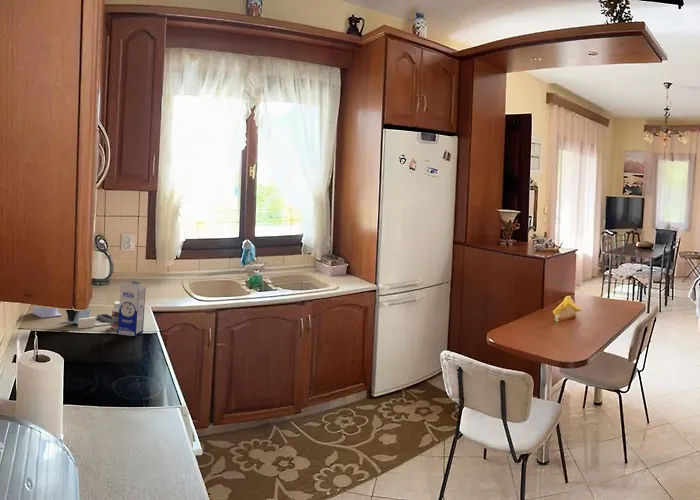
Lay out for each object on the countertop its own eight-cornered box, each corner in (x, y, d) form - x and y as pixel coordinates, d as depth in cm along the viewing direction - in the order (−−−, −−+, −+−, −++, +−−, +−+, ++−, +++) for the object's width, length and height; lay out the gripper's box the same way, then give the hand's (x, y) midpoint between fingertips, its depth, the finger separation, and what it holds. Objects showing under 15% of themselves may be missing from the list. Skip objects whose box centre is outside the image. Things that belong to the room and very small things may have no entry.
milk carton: (117, 334, 215) (120, 281, 213) (125, 330, 222) (128, 279, 220) (135, 337, 215) (138, 283, 213) (143, 332, 222) (146, 281, 220)
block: (66, 321, 222) (71, 306, 223) (76, 323, 226) (81, 308, 228) (76, 323, 220) (81, 308, 221) (86, 325, 224) (90, 310, 226)
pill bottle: (107, 327, 224) (109, 302, 223) (117, 325, 229) (119, 300, 228) (120, 330, 222) (121, 304, 221) (130, 327, 227) (131, 302, 226)
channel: (65, 321, 226) (65, 313, 225) (96, 318, 235) (96, 310, 235) (79, 328, 219) (79, 319, 218) (110, 324, 228) (111, 315, 228)
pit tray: (96, 318, 235) (97, 314, 235) (106, 317, 238) (106, 313, 238) (110, 324, 229) (110, 320, 228) (119, 323, 232) (120, 319, 232)
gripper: (57, 288, 212) (56, 325, 213) (96, 286, 223) (94, 320, 224) (49, 285, 216) (47, 321, 217) (87, 283, 227) (85, 317, 228)
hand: (71, 320), depth 221 cm, fingers closed, pressing on block
